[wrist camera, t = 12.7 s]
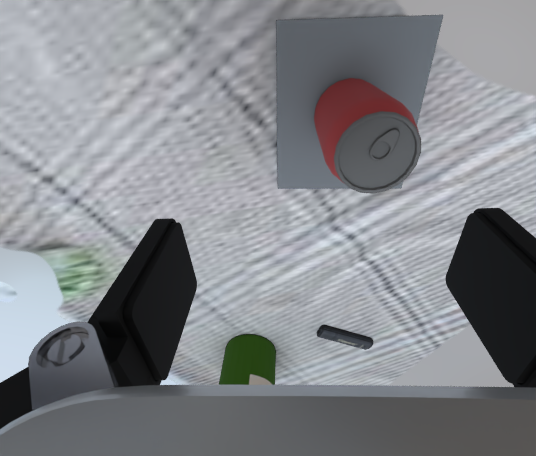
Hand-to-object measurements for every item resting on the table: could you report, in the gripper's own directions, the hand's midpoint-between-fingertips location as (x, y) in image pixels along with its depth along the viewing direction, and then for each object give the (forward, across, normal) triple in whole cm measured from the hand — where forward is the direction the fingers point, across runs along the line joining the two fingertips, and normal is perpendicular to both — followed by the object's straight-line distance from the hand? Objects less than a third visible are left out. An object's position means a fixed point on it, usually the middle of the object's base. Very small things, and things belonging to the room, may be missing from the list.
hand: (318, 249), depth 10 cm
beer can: (+23, -5, +1) cm, 24 cm away
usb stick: (+24, -8, +37) cm, 45 cm away
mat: (+24, -5, +2) cm, 24 cm away
